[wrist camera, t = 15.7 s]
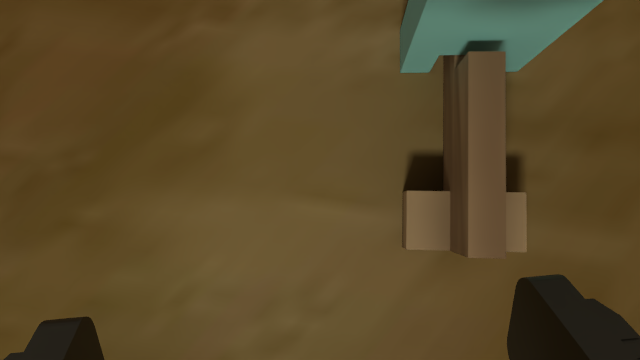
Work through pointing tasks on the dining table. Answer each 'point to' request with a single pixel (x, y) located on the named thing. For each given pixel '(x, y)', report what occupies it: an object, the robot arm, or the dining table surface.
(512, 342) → the robot arm
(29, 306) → the dining table surface
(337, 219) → the dining table surface
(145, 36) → the dining table surface
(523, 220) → the slotted rail
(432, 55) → the slotted tab
